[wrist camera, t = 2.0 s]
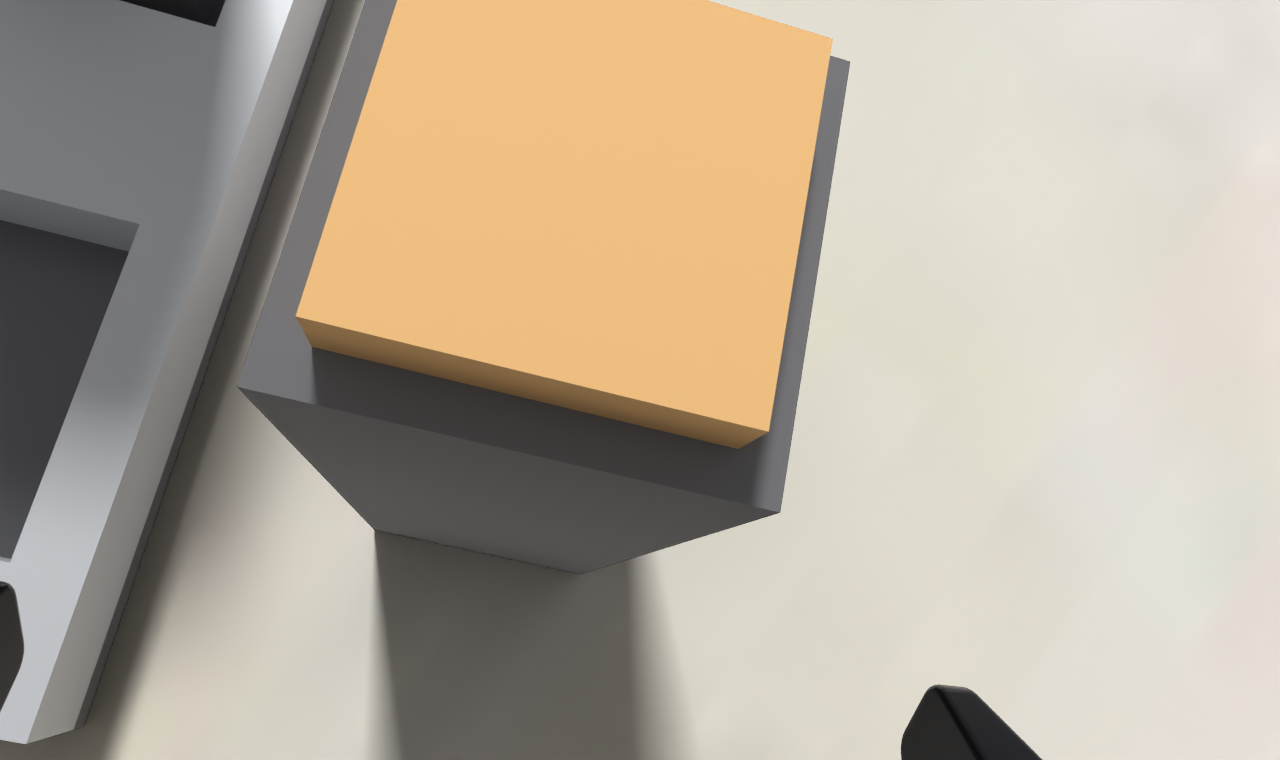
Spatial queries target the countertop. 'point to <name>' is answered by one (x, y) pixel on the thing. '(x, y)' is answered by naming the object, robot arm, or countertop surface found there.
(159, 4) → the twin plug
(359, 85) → the orange grey tall block
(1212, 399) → the countertop surface
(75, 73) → the light grey recessed block
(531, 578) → the countertop surface
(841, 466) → the countertop surface
